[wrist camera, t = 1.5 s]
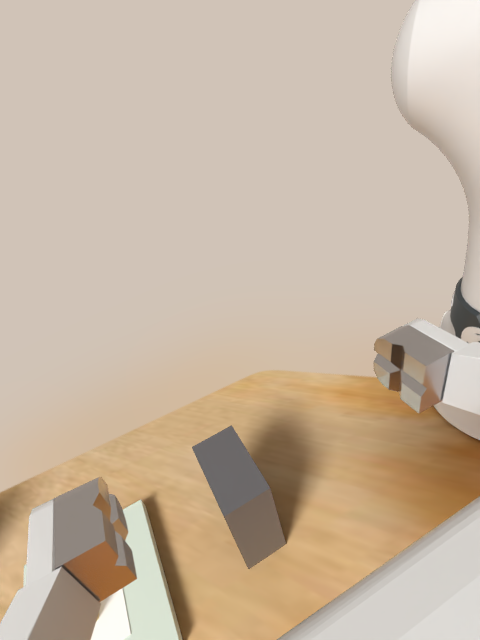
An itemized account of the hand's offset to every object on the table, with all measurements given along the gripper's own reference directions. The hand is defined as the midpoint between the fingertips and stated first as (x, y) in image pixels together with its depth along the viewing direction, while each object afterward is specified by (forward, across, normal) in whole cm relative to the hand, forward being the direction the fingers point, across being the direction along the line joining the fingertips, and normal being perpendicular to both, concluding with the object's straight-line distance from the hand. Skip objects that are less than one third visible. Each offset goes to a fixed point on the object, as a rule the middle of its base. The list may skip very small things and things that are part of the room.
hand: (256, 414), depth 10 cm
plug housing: (+12, -1, +29) cm, 31 cm away
